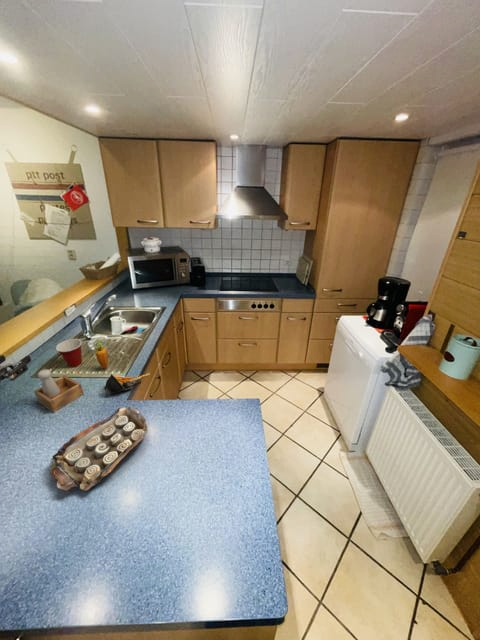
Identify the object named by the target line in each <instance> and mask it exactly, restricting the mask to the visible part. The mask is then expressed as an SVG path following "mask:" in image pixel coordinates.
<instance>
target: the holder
mask: <svg viewBox="0 0 480 640" xmlns="http://www.w3.org/2000/svg"><path fill="white" fill-rule="evenodd" d="M54 381H55V383H56V384H57V386H58V387H59V389H60V395H58V396H56V397H55V398H53V399H50V398H49V397H47V396H45V395H44V394H43V389H42V386H41V387H39V388H38V389H35V390H34V391H33V393H34V395H35V397H36V400H37V402H38V403H39V404H41V405H43V406H44V407H45V408H47V409H48V410H50V411H52V412H53V413H56V412H57V411H59V410H60V409H62V408H64V407H66V406H68V405H69V404H70V403H72V402H74V401H76V400H77V399H78V398H80V397H82V396H84V395H85V393H84V390H83V387H82V384H81V383H79V381H76V380H74V379H72V378H70V377H69V376H67V375H62V376H59V378H56V379H54Z"/></svg>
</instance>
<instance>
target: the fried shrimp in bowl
mask: <svg viewBox="0 0 480 640" xmlns="http://www.w3.org/2000/svg"><path fill="white" fill-rule="evenodd" d="M149 376H151V372H146V373H144V374H142V375H140V376H137V377H134V375H132V376H121V377H120V375H113V374H112V373H111V374H110V376H109V377H108V378H107V380H106V382H105V385H104V390H105V391H106V392H107V393H108V394H109V395H112V394H118V393H120V392H122V391H127V390H130V389H133V386H134V385H136V382H137V381H138V380H141V379H144V378H147V377H149Z"/></svg>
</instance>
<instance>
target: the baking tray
mask: <svg viewBox="0 0 480 640" xmlns="http://www.w3.org/2000/svg"><path fill="white" fill-rule="evenodd" d="M148 431H149V429H148V426H147V422H146V418H145V417H144V415H143V414H142V413H141V412H140V410H138V409H137V408H132V407H131V406H129V407H119V408H117V410H115V411H114V413H112V414H111V415H110V416H109V417H107V418H104V419H103V420H101V421H98V422H96V423H94V424H92V425H90V426H89V427H87V428H86V429H84V430H82V431H81V432H80V433H77V434H75V436H72V437H71V438H70V439H69V441H67V442H65V443H64V444H63V445H62V446H61V447H60V448H59V449H58V450H57V452H56V453H55V454H54V455H52V458H51V459H50V466H49V468H50V474H51V477H53V478H54V479H55V480H57V483H56V487H57V488H58V489H61V490H64V491H66V492H67V491H68V490H70V489H72V488H74V487H77V488H79V489H80V490H82V491H85V492H86V491H88V490H90V489H92V487H94V486H96V485H97V484H98V483H100V481H102V480H103V478H104V477H105V476H108V474H109V473H112V471H113V470H114V468H115V467H116V466H117V465H118V464H119V463H120V462H121V460H122V459H124V458H125V456H127V455H128V453H129V452H130V451H131V450H133V449H134V448H136V446H137V445H138V444H139V442H141V441H142V440H143V438H144V437H145V436H146V434H147V433H148Z"/></svg>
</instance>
